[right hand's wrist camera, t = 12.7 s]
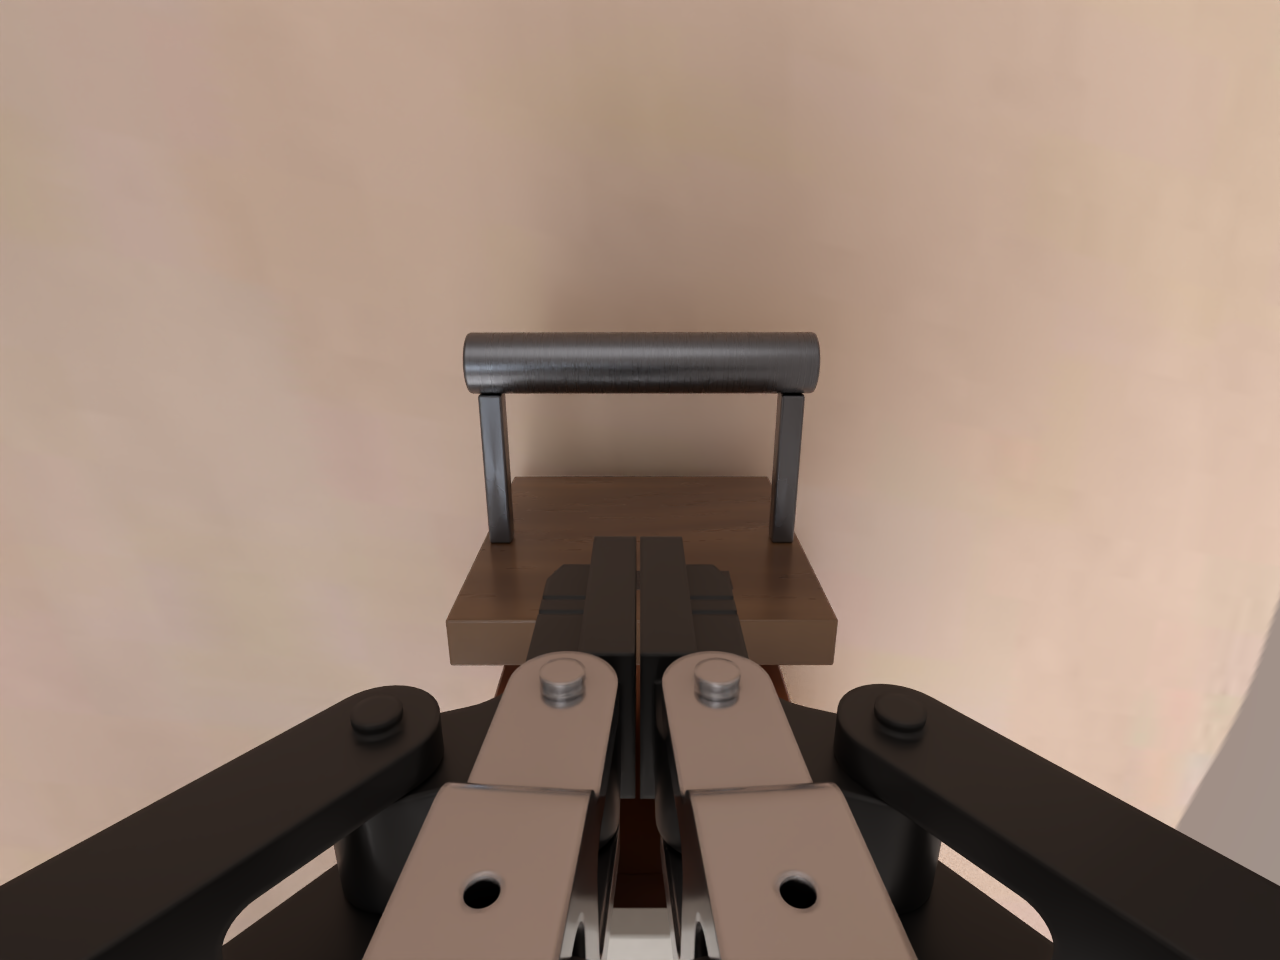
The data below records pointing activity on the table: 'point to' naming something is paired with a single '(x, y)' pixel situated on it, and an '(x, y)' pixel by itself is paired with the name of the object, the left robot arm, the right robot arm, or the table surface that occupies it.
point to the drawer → (642, 516)
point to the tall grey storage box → (639, 934)
